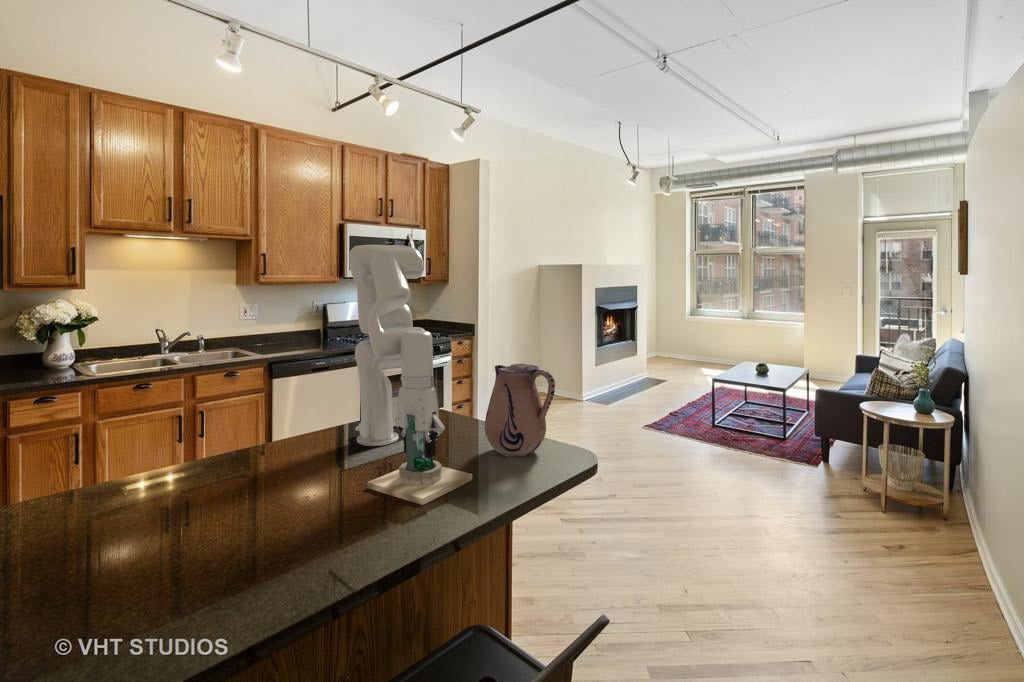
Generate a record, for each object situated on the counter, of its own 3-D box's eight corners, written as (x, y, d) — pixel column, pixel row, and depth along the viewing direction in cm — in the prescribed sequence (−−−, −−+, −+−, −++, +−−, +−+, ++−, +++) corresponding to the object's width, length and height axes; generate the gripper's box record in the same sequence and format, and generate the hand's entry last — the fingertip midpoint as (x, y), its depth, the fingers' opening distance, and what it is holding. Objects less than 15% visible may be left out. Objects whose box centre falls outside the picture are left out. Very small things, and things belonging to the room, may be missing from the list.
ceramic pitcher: (499, 440, 171) (498, 360, 168) (565, 448, 163) (565, 364, 160) (474, 458, 155) (473, 369, 152) (546, 467, 147) (546, 374, 144)
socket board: (367, 488, 134) (366, 470, 133) (419, 466, 149) (419, 450, 148) (422, 505, 124) (422, 485, 123) (472, 479, 139) (472, 462, 138)
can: (422, 478, 132) (420, 416, 130) (402, 473, 135) (400, 413, 133) (437, 470, 137) (436, 411, 135) (418, 466, 140) (416, 408, 138)
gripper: (380, 381, 135) (383, 452, 137) (434, 388, 125) (436, 465, 128) (403, 376, 141) (405, 444, 143) (455, 383, 132) (457, 456, 134)
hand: (420, 453), depth 135 cm, fingers closed on can, 6 cm apart
